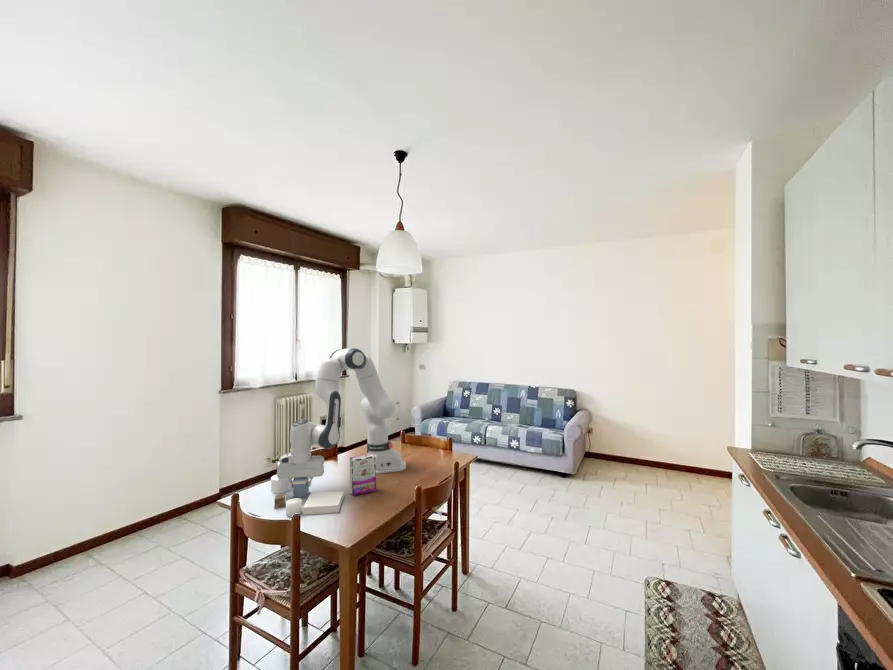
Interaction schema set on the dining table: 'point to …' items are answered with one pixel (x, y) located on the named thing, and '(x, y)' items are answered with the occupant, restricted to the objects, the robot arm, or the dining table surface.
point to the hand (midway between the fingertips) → (301, 486)
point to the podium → (323, 503)
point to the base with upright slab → (279, 484)
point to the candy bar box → (362, 474)
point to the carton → (300, 487)
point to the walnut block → (279, 501)
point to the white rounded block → (293, 506)
